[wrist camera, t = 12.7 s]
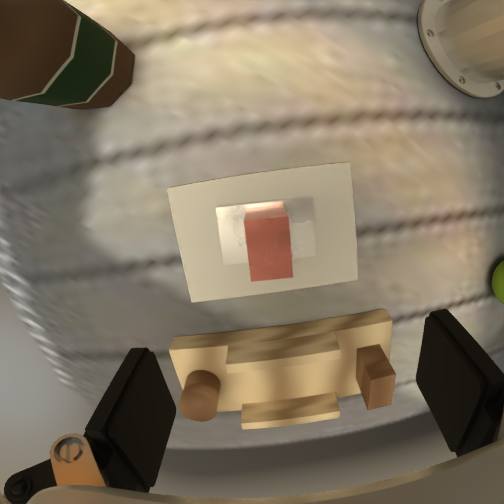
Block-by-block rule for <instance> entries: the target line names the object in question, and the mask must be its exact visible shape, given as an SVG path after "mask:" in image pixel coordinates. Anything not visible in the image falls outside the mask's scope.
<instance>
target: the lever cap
mask: <svg viewBox="0 0 504 504" xmlns="http://www.w3.org/2000/svg"><path fill="white" fill-rule="evenodd" d="M216 213H217V221H218V228H219V235H220V242H221V249H222V256H223V263H224V265H228V264H238V263H249V269H250V277H251V282H254V281H264V280H274V279H284V278H293V266H292V258H299V257H308V256H316V241H315V224H314V209H313V198H312V197H311V196H306V197H294V198H283V199H273V200H263V201H253V202H244V203H235V204H226V205H218V206H217V207H216Z"/></svg>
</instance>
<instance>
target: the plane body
mask: <svg viewBox="0 0 504 504" xmlns="http://www.w3.org/2000/svg"><path fill="white" fill-rule="evenodd" d="M392 321H393V320H392V319H391V318H390V316H389V315H388V313H387V312H386V311H385V309H380V310H375V311H370V312H364V313H359V314H353V315H347V316H342V317H336V318H330V319H323V320H317V321H310V322H304V323H297V324H290V325H282V326H275V327H267V328H259V329H251V330H242V331H233V332H223V333H213V334H202V335H190V336H178V337H174V339H173V341H172V344H171V346H170V348H169V352H170V355H171V358H172V361H173V364H174V367H175V370H176V372H177V375H178V378H179V381H180V383H181V386H182V389H183V392H182V396H181V399H180V403H179V409H180V411H181V413H182V414H183V415H184V416H186V417H187V418H189V419H191V420H194V421H208V420H211V419H213V418H214V417H215V415H216V412H217V411H235V410H242V417H241V425H242V428H243V429H255V428H266V427H276V426H285V425H293V424H301V423H308V422H314V421H321V420H327V419H332V418H338V417H340V409H339V406H338V402H337V399H336V398H339V397H344V396H349V395H354V394H359V393H362V396H363V399H364V401H365V404H366V407H367V410H371V409H375V408H379V407H384V406H388V405H391V403H392V397H393V391H394V385H395V378H396V373H395V371H394V370H393V368H392V366H391V364H390V362H389V357H390V347H391V335H392Z"/></svg>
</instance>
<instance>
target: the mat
mask: <svg viewBox="0 0 504 504" xmlns="http://www.w3.org/2000/svg"><path fill="white" fill-rule="evenodd" d="M167 191H168V196H169V202H170V207H171V212H172V217H173V222H174V226H175V231H176V236H177V241H178V245H179V250H180V254H181V259H182V263H183V267H184V272H185V276H186V280H187V284H188V289H189V293H190V297H191V301H192V302H200V301H209V300H218V299H226V298H235V297H243V296H251V295H258V294H266V293H273V292H281V291H288V290H295V289H302V288H309V287H316V286H322V285H329V284H336V283H342V282H348V281H354V280H358V263H357V242H356V225H355V211H354V199H353V188H352V178H351V169H350V162H343V163H333V164H323V165H314V166H305V167H297V168H289V169H281V170H273V171H266V172H259V173H252V174H245V175H239V176H232V177H226V178H220V179H214V180H208V181H203V182H197V183H191V184H186V185H181V186H176V187H170V188H167ZM306 196H311V197H312V198H313V209H314V224H315V241H316V256H308V257H299V258H292V266H293V278H284V279H274V280H264V281H254V282H251V277H250V269H249V263H238V264H228V265H224V263H223V256H222V249H221V242H220V235H219V228H218V221H217V213H216V207H217V206H218V205H226V204H235V203H244V202H253V201H263V200H273V199H283V198H294V197H306Z"/></svg>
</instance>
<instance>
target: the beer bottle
mask: <svg viewBox="0 0 504 504" xmlns="http://www.w3.org/2000/svg"><path fill="white" fill-rule="evenodd" d="M133 60H134V54H133V53H132V52H131V51H130V50H129V49H128V48H127V47H126V46H125V45H124V44H123V43H122V42H121V41H120V40H118V39H117V38H116V37H115V36H114V35H113V34H112V33H111V32H110V31H108V30H107V29H105V28H104V27H103V26H101V25H100V24H98V23H97V22H95V21H94V20H92V19H91V18H90V17H88V16H87V15H85V14H84V13H82V12H81V11H79V10H78V9H76V8H75V7H73V6H72V5H70V4H69V3H67V2H65V1H64V0H0V98H2V99H7V100H12V101H21V102H30V103H38V104H45V105H52V106H59V107H66V108H72V109H90V108H99V107H109V106H110V105H111V104H112V103H113V102H114V101H115V100H116V99H117V97H118V96H119V95H120V94H121V93H122V92H123V91H124V90H125V89H126V88H127V87H128V86H129V85H130V84H131V77H132V69H133Z"/></svg>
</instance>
